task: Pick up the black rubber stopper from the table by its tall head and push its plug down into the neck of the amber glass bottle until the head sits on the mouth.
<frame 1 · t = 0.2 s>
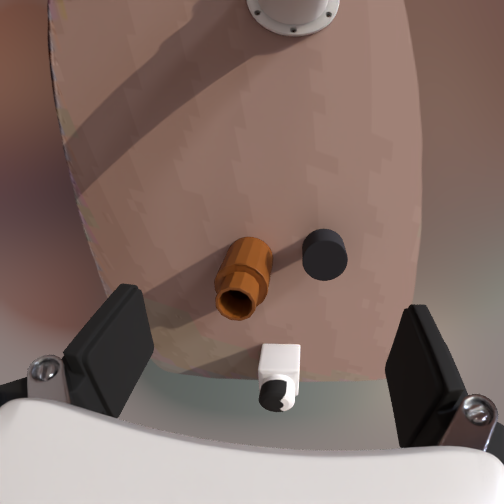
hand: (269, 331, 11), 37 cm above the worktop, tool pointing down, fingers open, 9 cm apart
stopper: (321, 238, 48), on the worktop
amber bottle: (250, 257, 51), on the worktop
medicine bottle: (281, 355, 60), on the worktop
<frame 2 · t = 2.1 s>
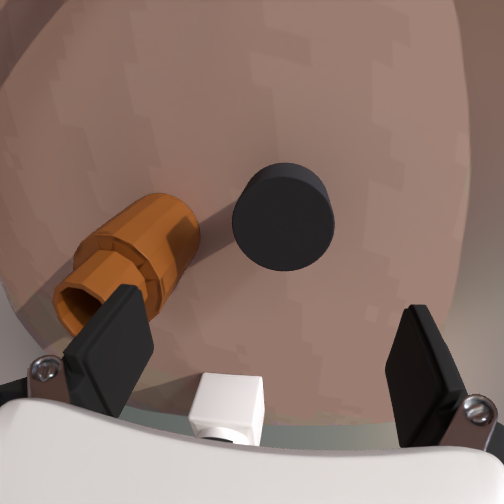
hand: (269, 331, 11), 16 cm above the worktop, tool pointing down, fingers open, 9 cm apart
stopper: (287, 191, 25), on the worktop
amber bottle: (162, 231, 28), on the worktop
medicine bottle: (235, 390, 37), on the worktop
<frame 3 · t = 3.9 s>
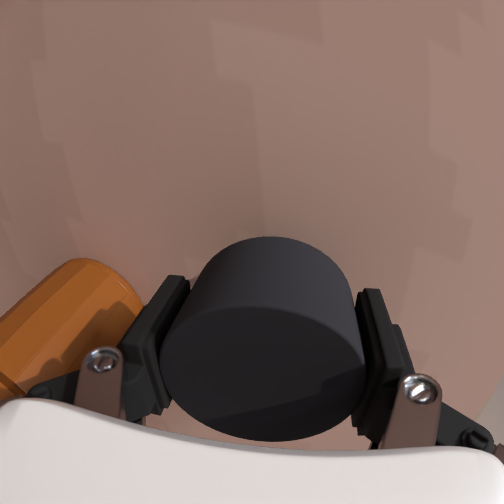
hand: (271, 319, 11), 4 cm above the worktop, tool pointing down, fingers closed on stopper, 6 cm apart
stopper: (278, 266, 15), on the worktop, touching gripper
amber bottle: (97, 309, 18), on the worktop
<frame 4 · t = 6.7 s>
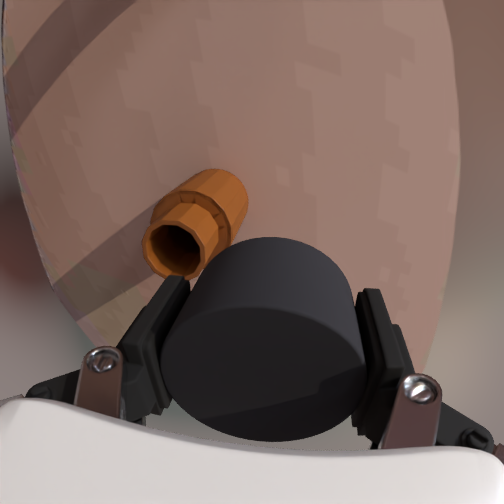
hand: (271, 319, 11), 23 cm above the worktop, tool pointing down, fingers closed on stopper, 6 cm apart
stopper: (279, 266, 15), point 19 cm above the worktop, touching gripper
amber bottle: (215, 201, 35), on the worktop
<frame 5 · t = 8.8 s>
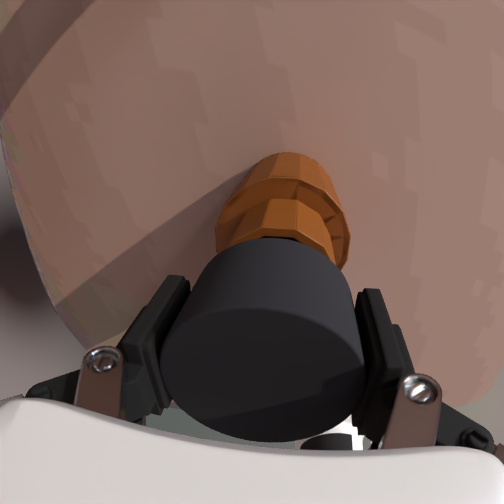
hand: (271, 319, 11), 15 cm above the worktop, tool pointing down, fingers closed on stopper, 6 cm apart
stopper: (278, 267, 15), point 11 cm above the worktop, touching gripper
amber bottle: (288, 197, 25), on the worktop
medicine bottle: (329, 382, 34), on the worktop
when the fingers open (14 cm above the worktop, at t = 9.8 s): stopper stays where it is, resting on amber bottle.
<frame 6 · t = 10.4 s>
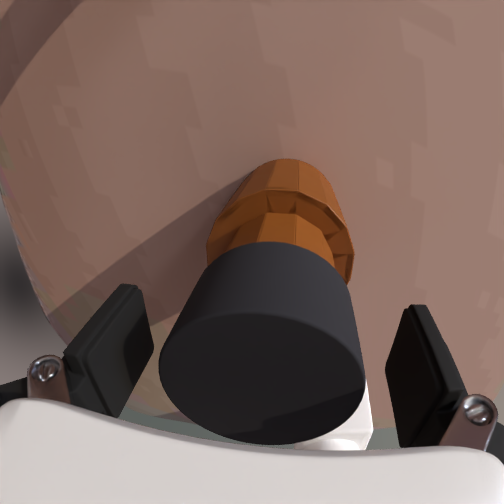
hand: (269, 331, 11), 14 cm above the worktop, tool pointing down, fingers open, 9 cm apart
stopper: (278, 269, 15), point 9 cm above the worktop, touching amber bottle
amber bottle: (286, 206, 24), on the worktop
medicine bottle: (329, 396, 32), on the worktop
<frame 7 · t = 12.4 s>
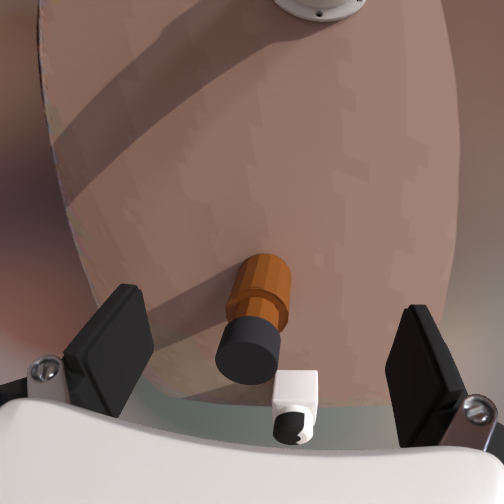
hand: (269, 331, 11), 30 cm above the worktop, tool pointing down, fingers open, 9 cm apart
stopper: (256, 318, 36), point 9 cm above the worktop, touching amber bottle
amber bottle: (264, 277, 44), on the worktop
medicine bottle: (296, 382, 53), on the worktop
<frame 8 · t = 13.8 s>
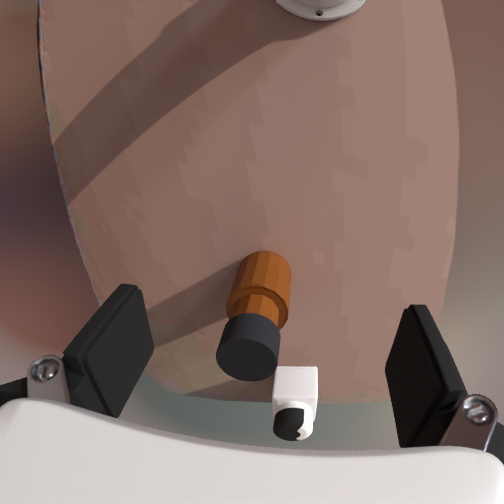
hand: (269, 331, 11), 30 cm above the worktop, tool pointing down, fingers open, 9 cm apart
stopper: (256, 315, 36), point 9 cm above the worktop, touching amber bottle
amber bottle: (265, 274, 45), on the worktop
medicine bottle: (296, 378, 53), on the worktop
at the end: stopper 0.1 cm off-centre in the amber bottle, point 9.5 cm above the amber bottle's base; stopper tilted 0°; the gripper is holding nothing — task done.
